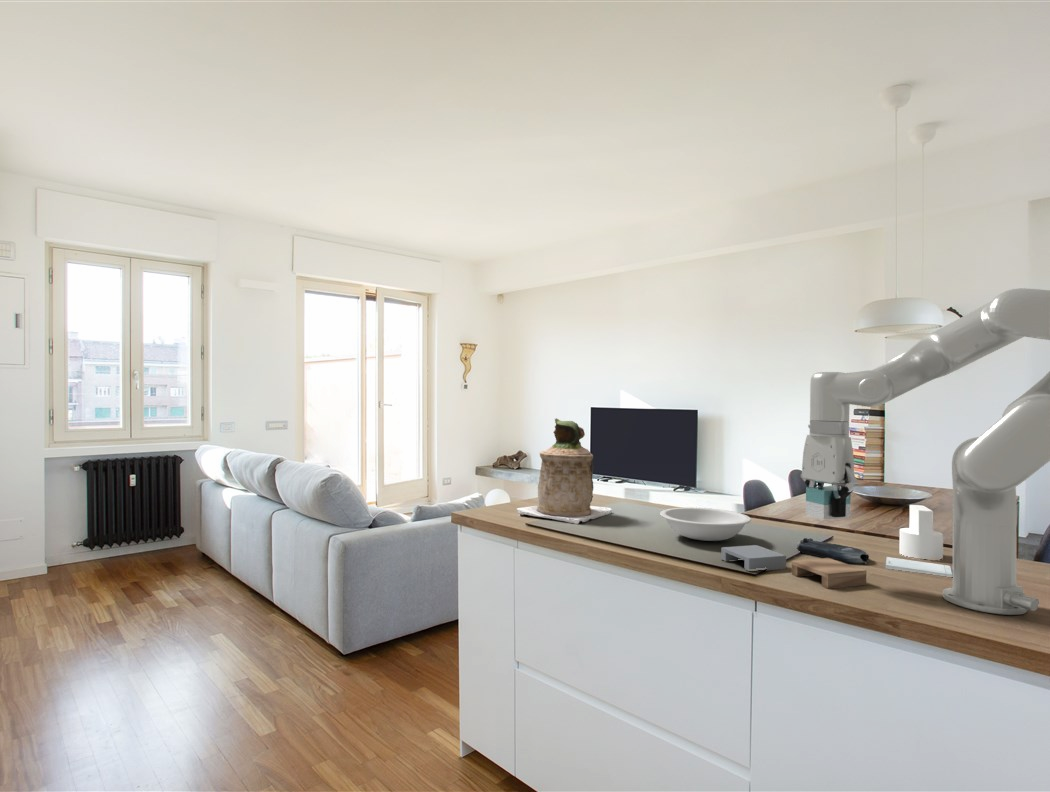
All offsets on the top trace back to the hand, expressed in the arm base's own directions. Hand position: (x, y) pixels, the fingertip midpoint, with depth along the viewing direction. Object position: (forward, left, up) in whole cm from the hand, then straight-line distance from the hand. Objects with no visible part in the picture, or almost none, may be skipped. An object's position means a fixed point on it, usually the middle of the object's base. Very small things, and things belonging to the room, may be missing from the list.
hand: (827, 513), depth 124 cm
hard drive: (+1, -27, -15) cm, 31 cm away
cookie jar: (+81, +29, -15) cm, 87 cm away
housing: (0, 0, -1) cm, 1 cm away
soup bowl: (+39, +4, -14) cm, 42 cm away
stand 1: (+14, +8, -14) cm, 21 cm away
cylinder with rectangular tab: (+10, -39, -14) cm, 43 cm away
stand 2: (0, 0, -14) cm, 14 cm away
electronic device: (+15, -17, -15) cm, 27 cm away
